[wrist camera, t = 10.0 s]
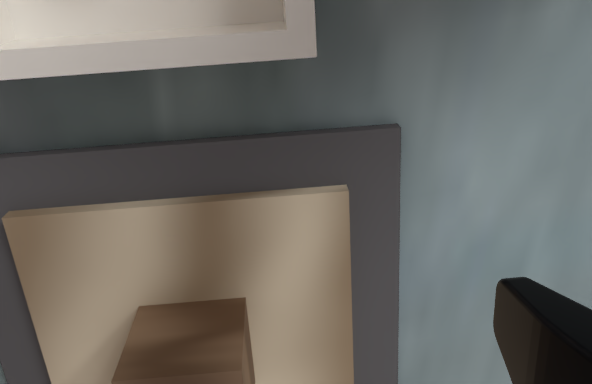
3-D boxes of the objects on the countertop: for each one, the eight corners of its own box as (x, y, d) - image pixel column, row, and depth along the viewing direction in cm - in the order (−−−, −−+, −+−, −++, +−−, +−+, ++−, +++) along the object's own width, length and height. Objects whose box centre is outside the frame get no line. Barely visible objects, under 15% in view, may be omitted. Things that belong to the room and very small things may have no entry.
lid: (346, 184, 20) (369, 245, 15) (353, 434, 24) (372, 533, 20) (9, 210, 19) (-63, 280, 15) (81, 458, 24) (42, 565, 20)
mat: (397, 123, 19) (401, 127, 19) (394, 453, 26) (396, 463, 25) (-60, 158, 19) (-68, 163, 18) (50, 485, 25) (46, 495, 25)
